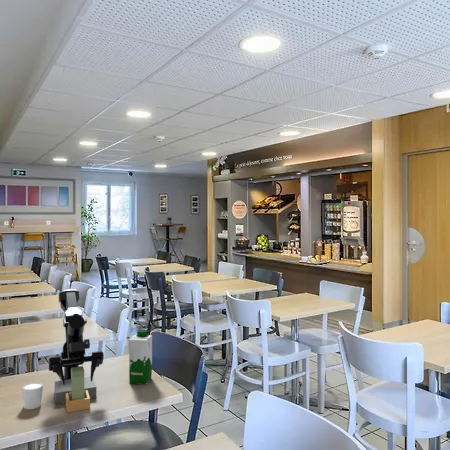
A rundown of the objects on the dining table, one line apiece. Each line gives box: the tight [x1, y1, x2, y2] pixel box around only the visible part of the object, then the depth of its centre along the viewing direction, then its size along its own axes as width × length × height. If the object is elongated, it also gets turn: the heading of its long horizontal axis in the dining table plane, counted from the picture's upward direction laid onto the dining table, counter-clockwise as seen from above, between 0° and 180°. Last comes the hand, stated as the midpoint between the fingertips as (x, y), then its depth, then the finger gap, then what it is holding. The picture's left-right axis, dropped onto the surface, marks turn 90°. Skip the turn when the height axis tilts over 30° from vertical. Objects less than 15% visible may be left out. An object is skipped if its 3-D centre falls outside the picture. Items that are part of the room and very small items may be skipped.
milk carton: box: [128, 329, 153, 385], centre depth 175 cm, size 9×9×20 cm
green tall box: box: [71, 365, 85, 401], centre depth 151 cm, size 5×4×13 cm
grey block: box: [54, 375, 97, 413], centre depth 157 cm, size 21×14×4 cm
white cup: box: [21, 382, 44, 410], centre depth 151 cm, size 7×7×7 cm
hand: (77, 382), depth 150 cm, fingers open, 9 cm apart
